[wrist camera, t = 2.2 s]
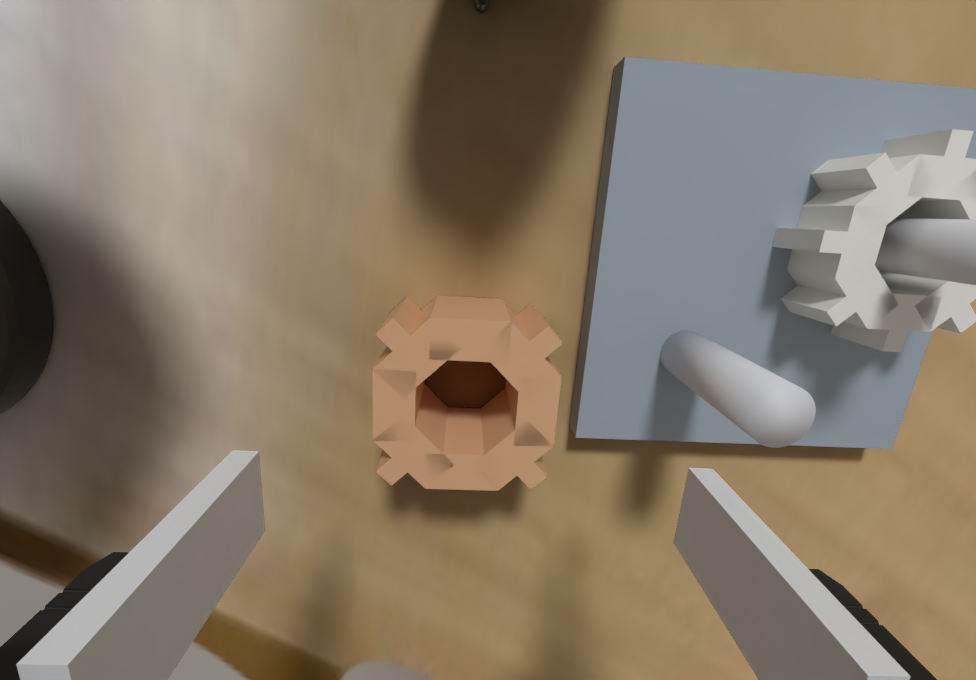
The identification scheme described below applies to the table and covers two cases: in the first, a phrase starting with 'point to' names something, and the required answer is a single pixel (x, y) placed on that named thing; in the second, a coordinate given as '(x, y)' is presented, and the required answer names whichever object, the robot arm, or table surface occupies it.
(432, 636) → the table surface
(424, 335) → the loose gear
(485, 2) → the alarm clock
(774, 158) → the gear board
